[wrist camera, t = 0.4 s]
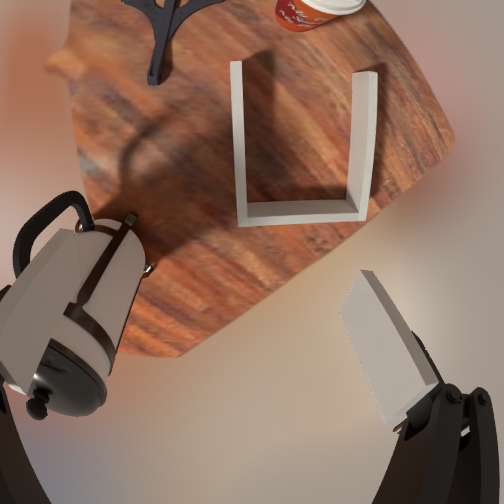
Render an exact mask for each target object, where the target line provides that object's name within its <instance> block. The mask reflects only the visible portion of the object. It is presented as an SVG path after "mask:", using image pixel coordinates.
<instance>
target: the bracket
mask: <svg viewBox="0 0 504 504" xmlns="http://www.w3.org/2000/svg"><path fill="white" fill-rule="evenodd" d="M121 2H124V4H127V5H130V6H133V7H135V8H137V9H139V10H140V11H142V12H143V13H144V14H145V15H146V16H147V17H148V18H149V20H150V22H151V24H152V27H153V31H154V38H155V41H156V43H155V47H154V51H153V55H152V59H151V63H150V67H149V71H148V75H147V82H148V85H160V80H161V73H162V67H163V61H164V56H165V50H166V45H167V41H169V40H170V38H171V37H172V35H173V33H174V32H175V30H176V29H177V27H178V26H179V25H180V24H181V23H182V22H183V21H184V20H185V19H186V18H187V17H189V16H190V15H191V14H193V13H194V12H196V11H198V10H200V9H202V8H204V7H207V6H210V5H213V4H216V3H221V2H224V0H189V1H188V3H187V4H185V5H184V6H182V7H179V8H175V5H176V2H177V0H165V4H164V9H162V8H158V7H157V6H156V5H155V2H154V0H121ZM155 13H156V14H155ZM179 19H180V20H179Z"/></svg>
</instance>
